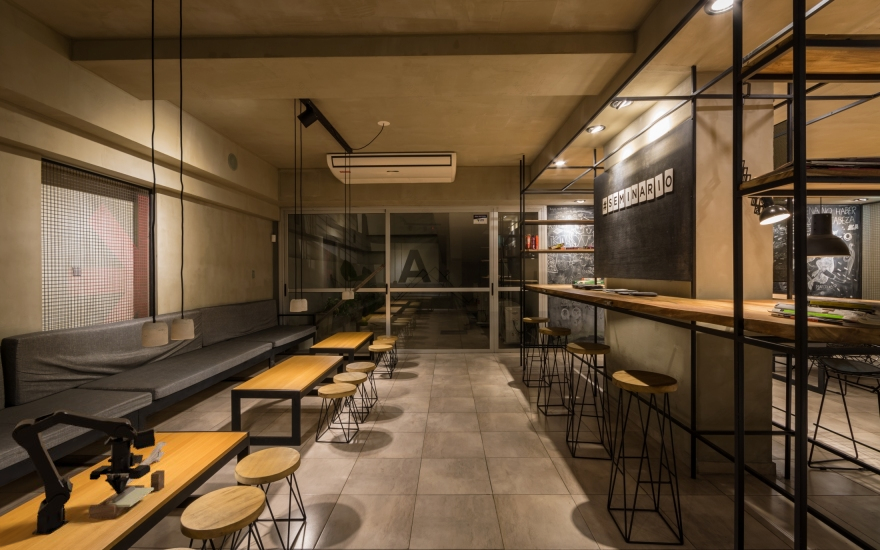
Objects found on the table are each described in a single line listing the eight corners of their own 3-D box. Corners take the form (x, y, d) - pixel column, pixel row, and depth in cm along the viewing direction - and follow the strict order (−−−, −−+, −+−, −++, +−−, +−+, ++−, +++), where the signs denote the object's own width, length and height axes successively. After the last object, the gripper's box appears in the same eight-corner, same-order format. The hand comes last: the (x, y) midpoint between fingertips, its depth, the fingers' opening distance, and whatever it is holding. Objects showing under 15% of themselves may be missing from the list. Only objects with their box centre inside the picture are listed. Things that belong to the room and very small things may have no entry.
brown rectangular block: (158, 491, 151) (158, 474, 152) (150, 491, 151) (150, 474, 152) (164, 487, 155) (164, 470, 155) (156, 487, 155) (156, 470, 155)
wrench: (118, 496, 154) (163, 454, 183) (123, 495, 154) (167, 454, 184) (116, 477, 153) (162, 439, 183) (121, 477, 153) (166, 439, 183)
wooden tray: (113, 518, 134) (114, 506, 134) (88, 518, 134) (89, 506, 134) (144, 496, 148) (144, 485, 148) (121, 496, 148) (121, 485, 148)
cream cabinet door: (130, 506, 135) (130, 500, 135) (106, 507, 135) (107, 500, 135) (153, 489, 147) (153, 483, 147) (132, 489, 147) (132, 483, 147)
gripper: (161, 443, 150) (160, 482, 149) (114, 444, 149) (113, 483, 149) (139, 456, 139) (138, 498, 138) (88, 457, 138) (87, 499, 138)
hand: (120, 494), depth 141 cm, fingers closed
